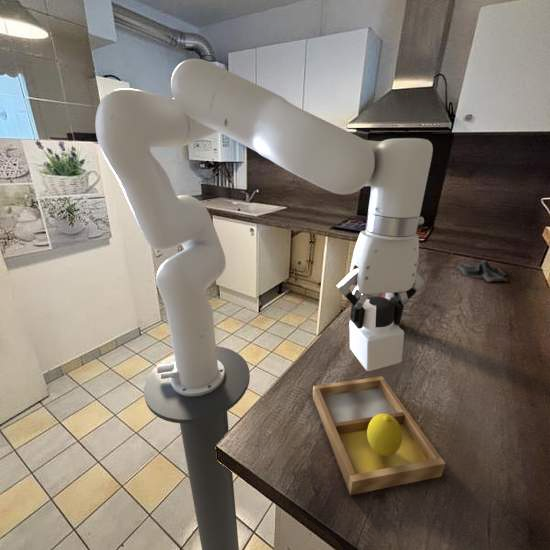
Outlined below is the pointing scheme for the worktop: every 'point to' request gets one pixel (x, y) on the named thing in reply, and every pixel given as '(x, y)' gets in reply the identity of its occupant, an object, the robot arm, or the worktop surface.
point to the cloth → (483, 271)
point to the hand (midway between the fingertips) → (374, 321)
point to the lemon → (384, 434)
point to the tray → (354, 443)
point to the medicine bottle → (377, 335)
